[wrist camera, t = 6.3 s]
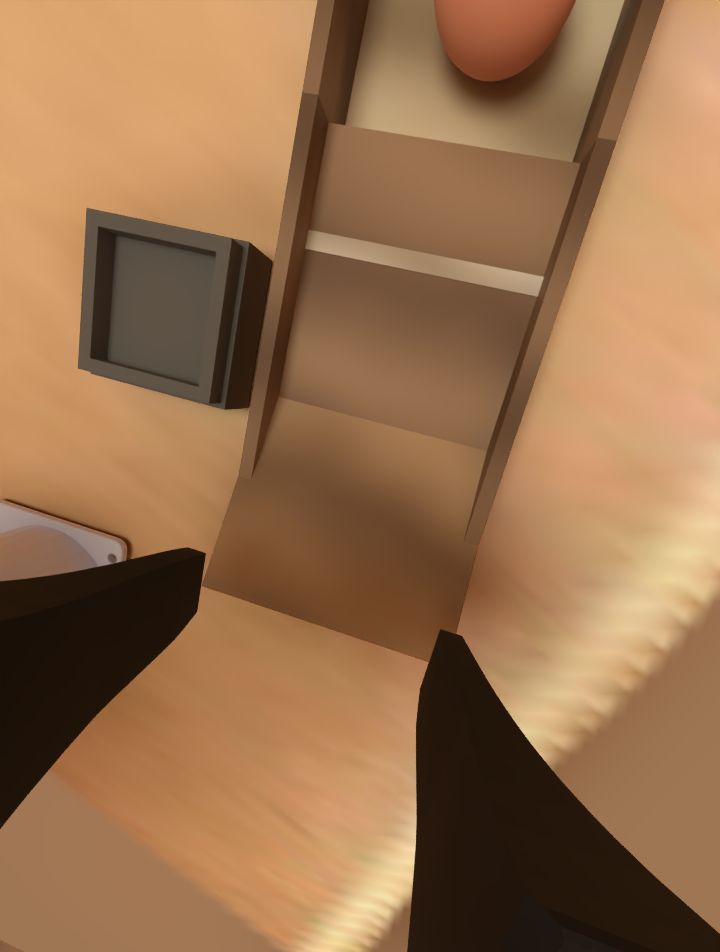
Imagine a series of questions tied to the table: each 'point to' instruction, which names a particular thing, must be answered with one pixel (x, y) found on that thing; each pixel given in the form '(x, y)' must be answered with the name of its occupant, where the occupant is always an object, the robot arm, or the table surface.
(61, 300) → the table surface
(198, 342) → the grey square tray
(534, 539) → the table surface
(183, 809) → the table surface
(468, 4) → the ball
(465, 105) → the lane
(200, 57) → the table surface
